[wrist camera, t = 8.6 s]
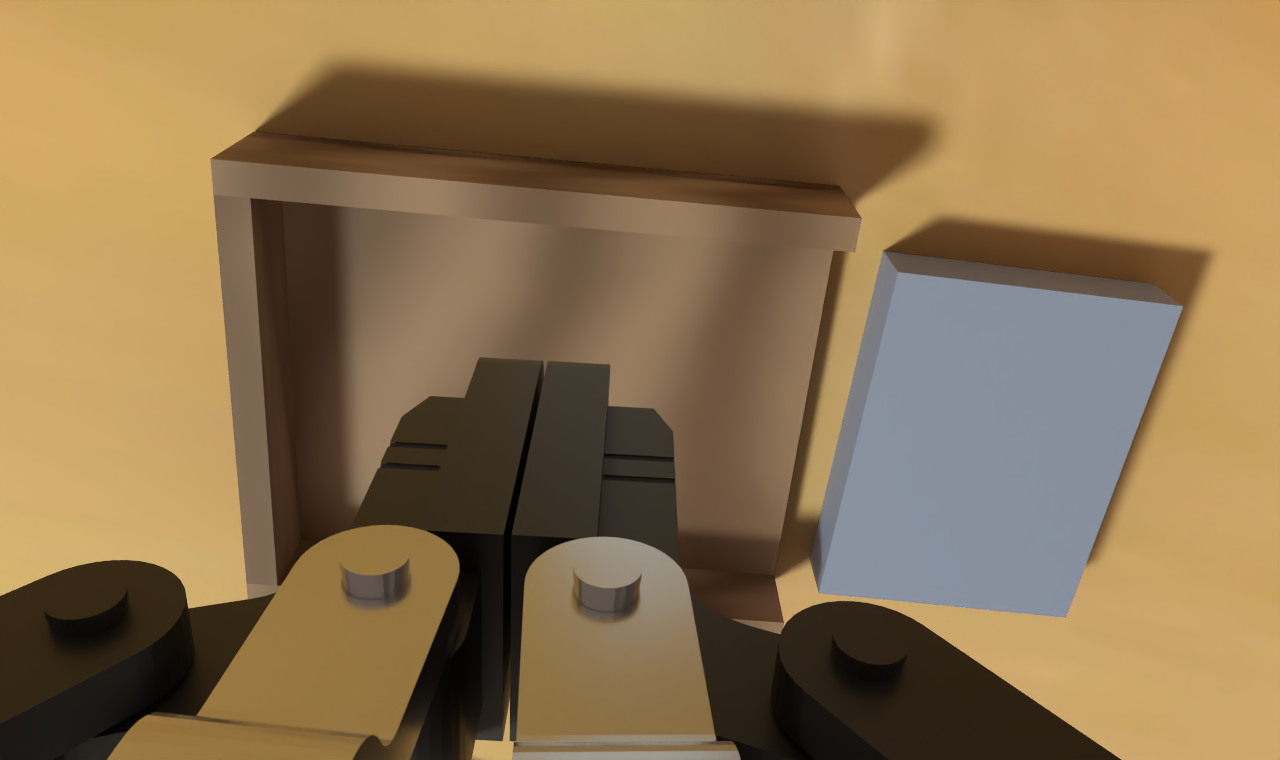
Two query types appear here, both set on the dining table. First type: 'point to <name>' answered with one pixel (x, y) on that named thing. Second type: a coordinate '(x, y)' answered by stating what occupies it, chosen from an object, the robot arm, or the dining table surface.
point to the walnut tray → (517, 325)
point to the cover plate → (986, 432)
